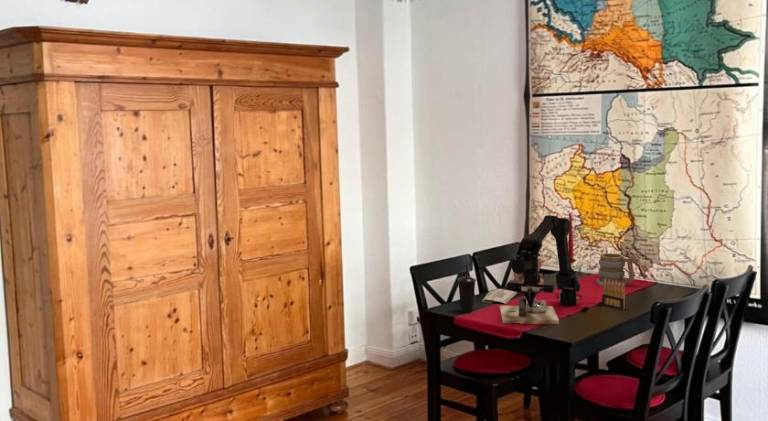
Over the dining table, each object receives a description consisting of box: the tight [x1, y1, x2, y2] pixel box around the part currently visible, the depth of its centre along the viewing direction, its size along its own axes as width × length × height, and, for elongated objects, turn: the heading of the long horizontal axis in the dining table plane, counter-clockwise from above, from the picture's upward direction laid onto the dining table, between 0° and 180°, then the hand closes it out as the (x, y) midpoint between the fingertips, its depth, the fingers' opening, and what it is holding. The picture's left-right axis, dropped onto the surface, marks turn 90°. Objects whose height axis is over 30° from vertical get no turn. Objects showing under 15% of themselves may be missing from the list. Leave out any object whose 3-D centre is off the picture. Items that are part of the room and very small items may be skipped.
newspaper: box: [481, 288, 518, 305], centre depth 357 cm, size 23×12×2 cm, turn 157°
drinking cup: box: [457, 263, 477, 313], centre depth 333 cm, size 8×8×20 cm
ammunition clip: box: [601, 278, 627, 311], centre depth 336 cm, size 11×2×12 cm, turn 40°
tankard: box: [596, 252, 640, 288], centre depth 376 cm, size 20×13×15 cm, turn 43°
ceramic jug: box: [513, 257, 545, 291], centre depth 371 cm, size 18×14×14 cm
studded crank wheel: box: [518, 297, 547, 317], centre depth 324 cm, size 17×9×7 cm, turn 142°
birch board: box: [499, 305, 560, 325], centre depth 325 cm, size 22×22×2 cm
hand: (531, 307), depth 317 cm, fingers closed
